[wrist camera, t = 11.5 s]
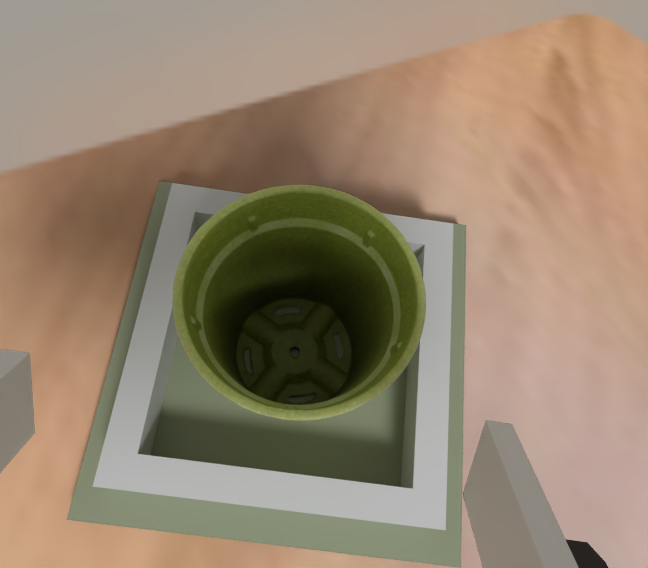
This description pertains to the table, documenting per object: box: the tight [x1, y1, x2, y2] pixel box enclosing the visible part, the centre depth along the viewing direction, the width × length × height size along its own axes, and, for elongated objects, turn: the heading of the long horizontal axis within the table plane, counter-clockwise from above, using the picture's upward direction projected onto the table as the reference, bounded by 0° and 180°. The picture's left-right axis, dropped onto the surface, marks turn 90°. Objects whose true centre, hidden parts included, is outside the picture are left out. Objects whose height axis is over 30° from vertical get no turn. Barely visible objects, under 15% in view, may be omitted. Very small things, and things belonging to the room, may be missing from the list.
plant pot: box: [172, 184, 426, 421], centre depth 24 cm, size 9×9×9 cm
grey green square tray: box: [67, 181, 466, 568], centre depth 27 cm, size 18×18×4 cm
